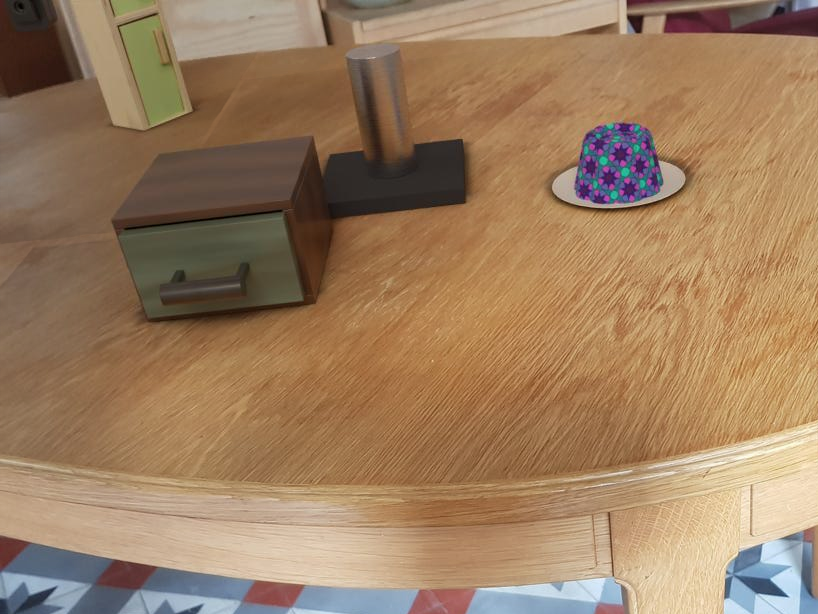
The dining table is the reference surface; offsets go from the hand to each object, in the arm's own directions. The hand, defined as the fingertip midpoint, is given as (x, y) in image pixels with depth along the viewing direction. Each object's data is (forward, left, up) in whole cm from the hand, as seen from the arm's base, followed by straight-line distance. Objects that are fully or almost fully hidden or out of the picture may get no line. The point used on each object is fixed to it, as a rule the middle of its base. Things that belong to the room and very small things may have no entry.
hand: (37, 27), depth 57 cm
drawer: (+5, +9, -22) cm, 24 cm away
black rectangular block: (+17, +30, -23) cm, 41 cm away
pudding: (+38, +22, -23) cm, 49 cm away
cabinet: (+5, +13, -23) cm, 27 cm away
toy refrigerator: (-16, +61, -23) cm, 67 cm away
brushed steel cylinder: (+17, +30, -21) cm, 40 cm away
